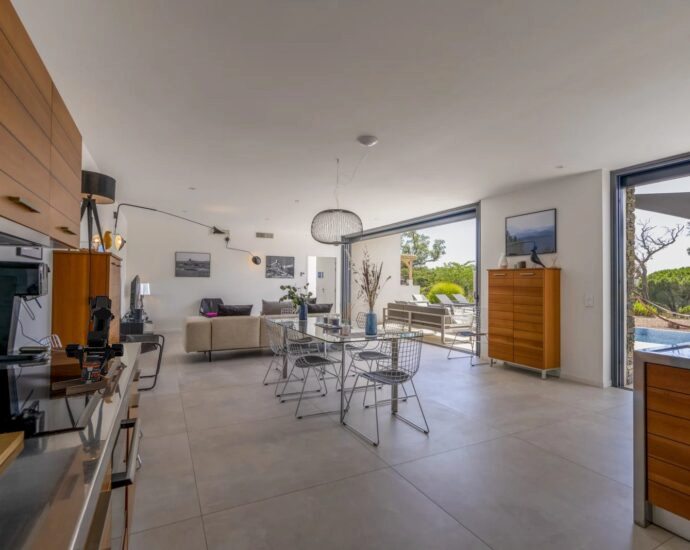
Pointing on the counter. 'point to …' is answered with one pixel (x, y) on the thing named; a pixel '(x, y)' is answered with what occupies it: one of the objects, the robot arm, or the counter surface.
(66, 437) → the counter surface
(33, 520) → the counter surface
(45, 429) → the counter surface
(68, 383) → the comb channel
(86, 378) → the supplement bottle
